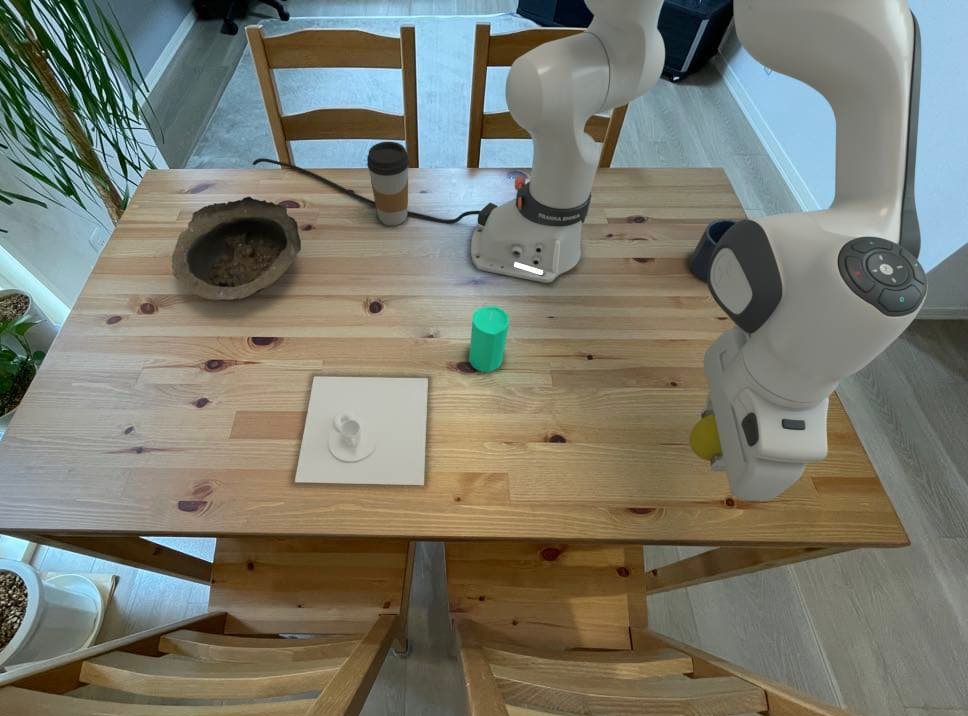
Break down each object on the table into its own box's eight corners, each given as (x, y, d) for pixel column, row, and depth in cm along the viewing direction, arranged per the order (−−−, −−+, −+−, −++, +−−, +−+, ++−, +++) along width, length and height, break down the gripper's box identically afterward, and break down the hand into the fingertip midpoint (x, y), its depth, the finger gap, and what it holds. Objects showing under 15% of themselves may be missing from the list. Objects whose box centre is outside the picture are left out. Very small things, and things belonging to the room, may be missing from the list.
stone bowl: (294, 219, 112) (285, 183, 103) (320, 305, 101) (311, 272, 92) (178, 243, 108) (158, 208, 99) (191, 336, 96) (170, 304, 88)
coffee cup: (378, 203, 115) (370, 138, 102) (414, 206, 114) (411, 141, 101) (370, 228, 110) (361, 163, 98) (408, 231, 110) (404, 166, 97)
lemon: (725, 474, 66) (758, 446, 59) (680, 466, 67) (708, 438, 60) (721, 437, 69) (752, 406, 62) (678, 430, 70) (705, 399, 63)
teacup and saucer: (332, 414, 85) (328, 401, 82) (380, 415, 85) (377, 402, 82) (325, 462, 81) (320, 450, 77) (375, 463, 80) (372, 451, 77)
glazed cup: (692, 282, 100) (711, 250, 93) (685, 250, 105) (702, 218, 98) (740, 285, 99) (762, 253, 93) (730, 253, 104) (751, 220, 97)
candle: (464, 366, 90) (467, 321, 80) (474, 341, 93) (479, 294, 83) (497, 376, 89) (504, 331, 79) (506, 350, 92) (514, 303, 82)
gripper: (722, 305, 59) (674, 373, 71) (763, 466, 49) (699, 514, 60) (779, 309, 59) (721, 377, 71) (833, 472, 48) (754, 520, 60)
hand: (711, 441), depth 65 cm, fingers closed on lemon, 5 cm apart
